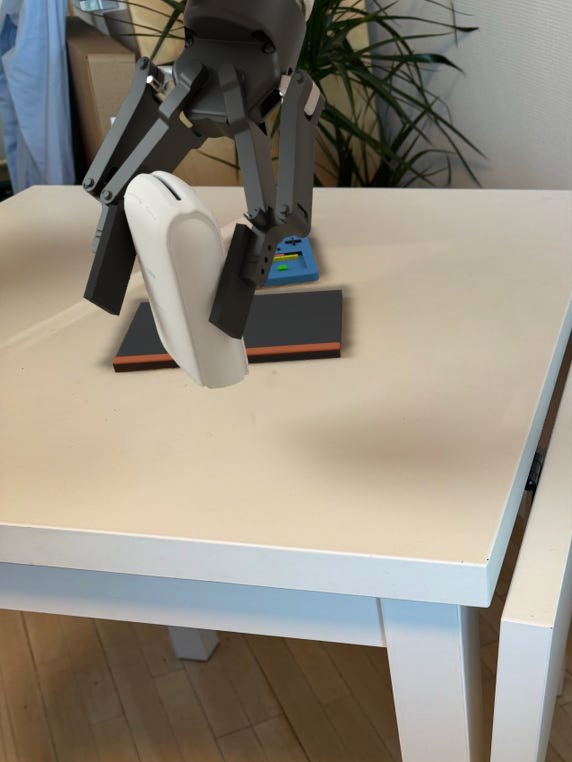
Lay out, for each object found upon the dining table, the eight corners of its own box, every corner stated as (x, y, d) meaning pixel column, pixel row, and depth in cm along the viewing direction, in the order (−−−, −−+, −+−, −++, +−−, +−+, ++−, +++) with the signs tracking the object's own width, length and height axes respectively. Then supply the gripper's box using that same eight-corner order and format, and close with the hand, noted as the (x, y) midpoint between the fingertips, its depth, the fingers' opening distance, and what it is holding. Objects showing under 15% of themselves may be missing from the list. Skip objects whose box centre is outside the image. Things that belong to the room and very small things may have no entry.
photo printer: (154, 343, 68) (105, 163, 60) (209, 330, 70) (169, 153, 61) (199, 397, 61) (152, 204, 53) (259, 381, 63) (221, 191, 55)
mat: (114, 372, 80) (111, 362, 80) (142, 309, 90) (140, 301, 90) (340, 357, 81) (339, 347, 81) (342, 297, 92) (341, 288, 91)
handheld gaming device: (303, 224, 105) (318, 269, 94) (305, 234, 105) (320, 280, 95) (231, 232, 103) (238, 279, 93) (233, 242, 104) (240, 290, 93)
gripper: (422, 45, 60) (330, 367, 60) (156, 28, 67) (74, 316, 67) (376, -45, 53) (271, 320, 53) (84, -54, 60) (-8, 269, 60)
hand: (161, 318), depth 60 cm, fingers closed on photo printer, 10 cm apart
